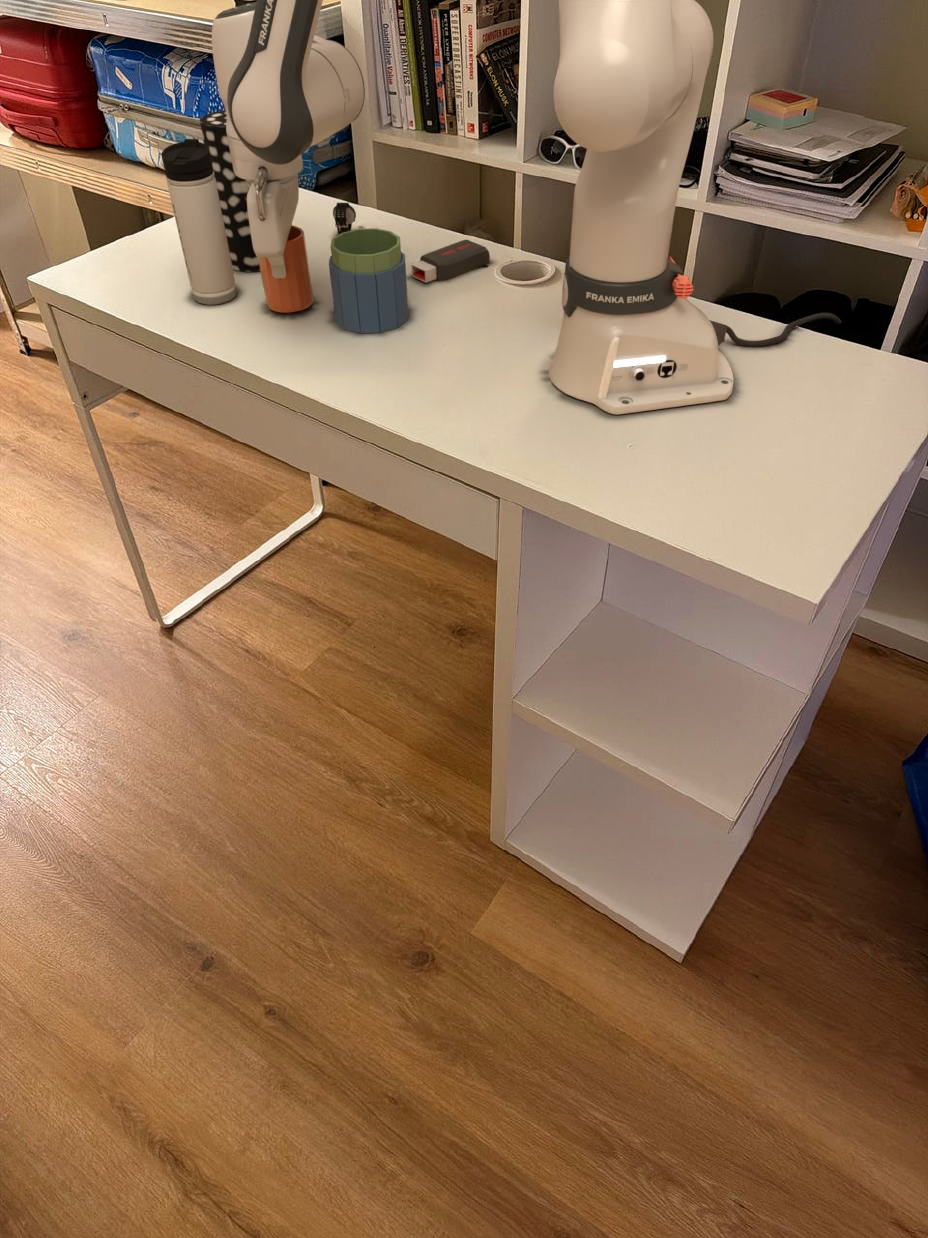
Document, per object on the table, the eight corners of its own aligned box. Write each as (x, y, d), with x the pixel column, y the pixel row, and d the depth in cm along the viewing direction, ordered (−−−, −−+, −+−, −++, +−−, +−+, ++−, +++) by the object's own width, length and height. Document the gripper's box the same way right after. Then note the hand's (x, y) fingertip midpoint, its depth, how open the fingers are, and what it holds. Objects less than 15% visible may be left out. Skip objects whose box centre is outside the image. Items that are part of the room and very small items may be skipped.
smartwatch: (361, 231, 148) (359, 200, 144) (346, 243, 144) (343, 211, 141) (339, 228, 149) (336, 196, 145) (323, 239, 146) (320, 207, 142)
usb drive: (489, 262, 138) (490, 244, 136) (430, 286, 132) (429, 267, 131) (466, 252, 141) (466, 234, 139) (407, 275, 135) (406, 257, 133)
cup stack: (408, 299, 129) (404, 225, 122) (407, 332, 122) (402, 255, 115) (338, 301, 129) (330, 227, 122) (333, 333, 122) (324, 257, 115)
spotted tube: (216, 263, 139) (186, 120, 125) (254, 245, 144) (230, 105, 130) (255, 276, 136) (229, 130, 122) (293, 257, 141) (272, 114, 127)
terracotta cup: (315, 291, 130) (305, 223, 124) (311, 311, 126) (300, 242, 119) (270, 293, 130) (258, 225, 124) (264, 313, 126) (251, 244, 119)
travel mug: (243, 286, 133) (215, 138, 120) (230, 306, 129) (200, 154, 115) (201, 284, 134) (169, 137, 120) (187, 304, 129) (152, 153, 115)
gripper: (281, 182, 107) (299, 295, 117) (299, 130, 122) (313, 234, 132) (228, 184, 107) (250, 297, 117) (252, 132, 122) (270, 236, 132)
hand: (283, 263), depth 124 cm, fingers closed on terracotta cup, 6 cm apart
